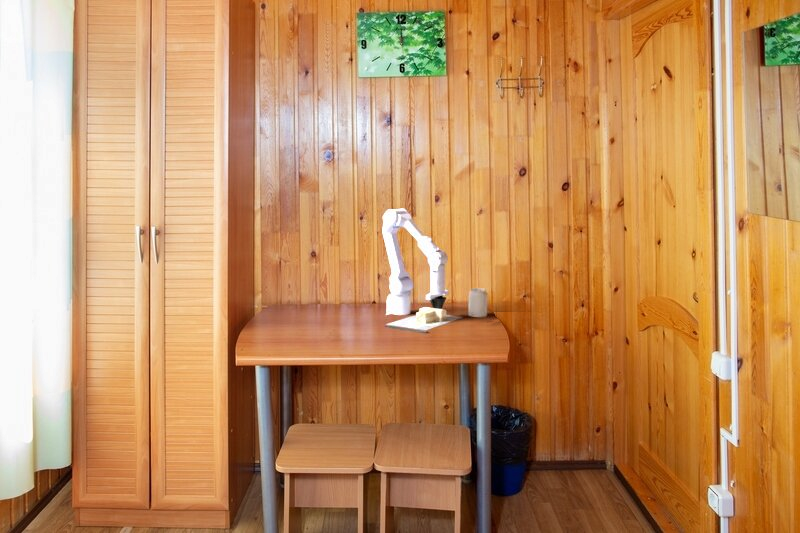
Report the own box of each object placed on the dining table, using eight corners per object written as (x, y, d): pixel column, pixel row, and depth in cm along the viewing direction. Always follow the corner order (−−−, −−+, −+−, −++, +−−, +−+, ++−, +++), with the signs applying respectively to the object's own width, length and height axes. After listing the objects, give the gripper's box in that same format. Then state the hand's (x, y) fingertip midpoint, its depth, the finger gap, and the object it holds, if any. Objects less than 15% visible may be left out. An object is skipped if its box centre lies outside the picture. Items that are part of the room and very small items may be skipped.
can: (474, 315, 275) (475, 286, 274) (490, 317, 271) (491, 288, 269) (464, 318, 269) (465, 289, 268) (480, 320, 265) (481, 291, 263)
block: (409, 321, 258) (409, 311, 257) (424, 316, 267) (424, 307, 266) (431, 324, 252) (431, 314, 251) (446, 319, 261) (446, 309, 261)
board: (385, 327, 253) (385, 324, 253) (424, 314, 276) (424, 312, 276) (425, 333, 243) (425, 330, 243) (462, 320, 266) (462, 317, 266)
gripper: (437, 284, 255) (436, 319, 257) (455, 280, 267) (455, 313, 269) (421, 283, 259) (421, 317, 261) (440, 278, 271) (440, 311, 273)
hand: (437, 315), depth 265 cm, fingers closed
